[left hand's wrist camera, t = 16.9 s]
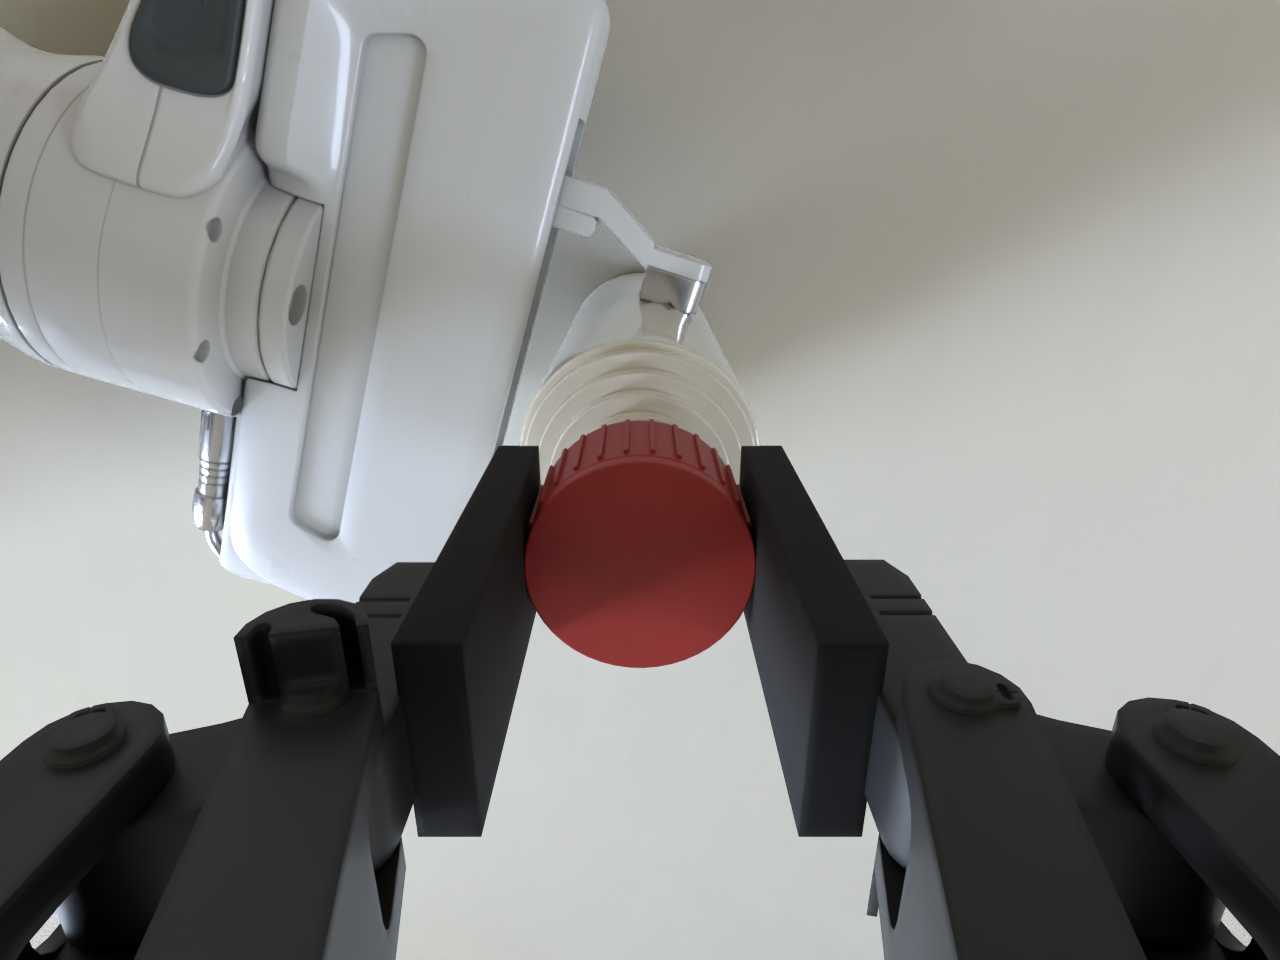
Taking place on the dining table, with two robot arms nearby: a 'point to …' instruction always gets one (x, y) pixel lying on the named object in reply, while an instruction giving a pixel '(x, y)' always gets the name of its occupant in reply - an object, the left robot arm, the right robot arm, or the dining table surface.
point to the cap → (640, 546)
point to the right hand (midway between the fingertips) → (667, 394)
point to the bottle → (638, 377)
